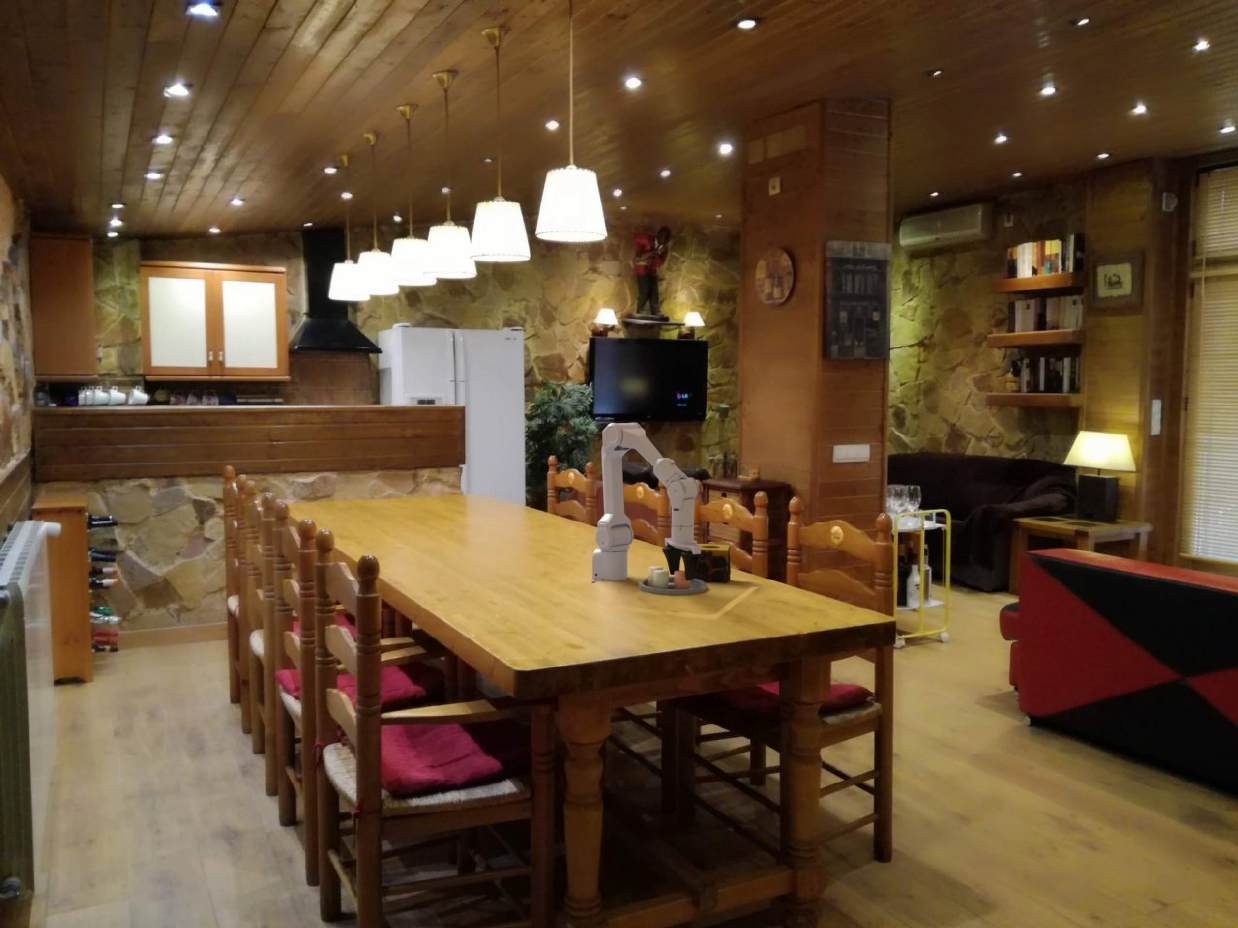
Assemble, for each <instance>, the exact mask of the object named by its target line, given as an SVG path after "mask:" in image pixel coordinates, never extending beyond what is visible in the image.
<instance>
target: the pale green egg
mask: <svg viewBox="0 0 1238 928" xmlns="http://www.w3.org/2000/svg"><path fill="white" fill-rule="evenodd" d="M669 577H670V571H669V570H668V569H667V570H666V569H663V570H655V571H654V578H653V588H659V589H669Z"/></svg>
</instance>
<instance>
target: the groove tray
mask: <svg viewBox="0 0 1238 928" xmlns="http://www.w3.org/2000/svg"><path fill="white" fill-rule="evenodd" d="M674 580H675V576H669V589H659V588H653V587H649V586H648V577H647V578H644V579H642V580H639V581H638V582H637V584H638V588H639V590H640V591H643V592H645V593H649V594H654V595H655V594H656V595H664V596H685V595H686V596H688V595H695V594H700V593H703V592H704V591H706V590H707V588H708V584H707V582H704V581H702V580H698V579H694V580H690V589H674Z"/></svg>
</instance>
